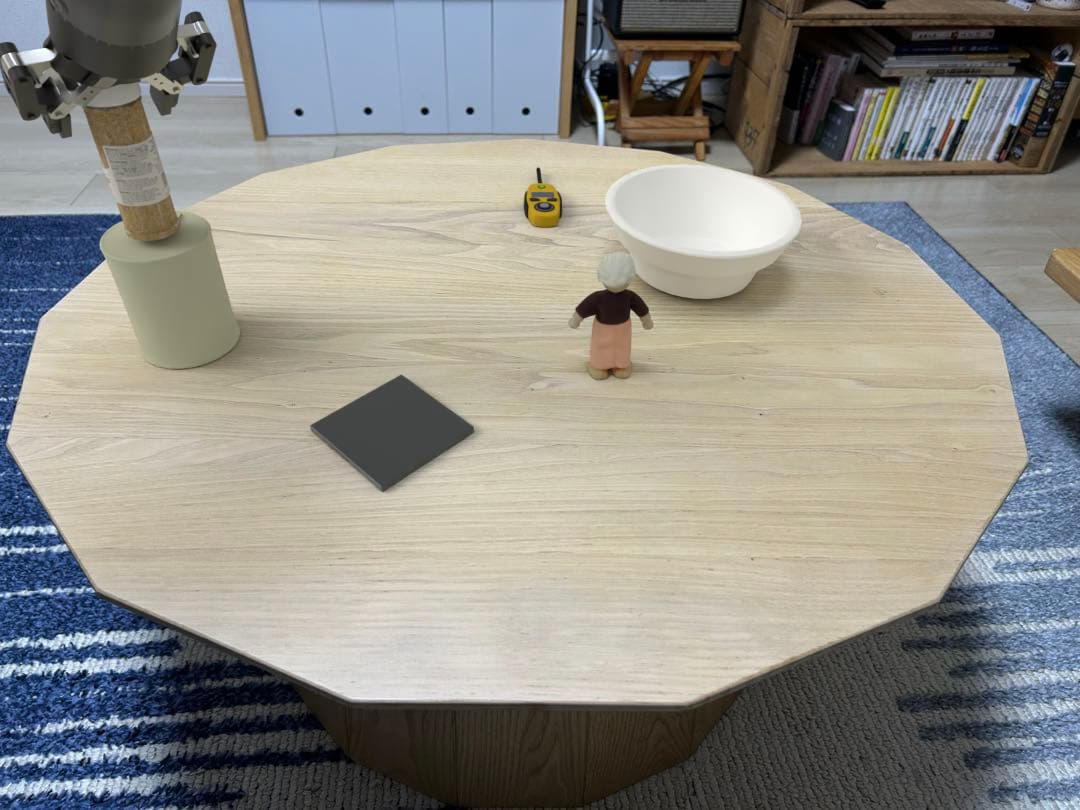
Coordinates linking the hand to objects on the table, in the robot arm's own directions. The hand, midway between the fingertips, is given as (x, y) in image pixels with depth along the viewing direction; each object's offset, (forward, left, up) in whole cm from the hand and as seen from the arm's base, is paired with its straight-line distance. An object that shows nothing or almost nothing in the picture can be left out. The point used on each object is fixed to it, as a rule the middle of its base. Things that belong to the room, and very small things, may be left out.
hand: (111, 115), depth 62 cm
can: (0, -2, -22) cm, 22 cm away
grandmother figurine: (+33, -25, -22) cm, 47 cm away
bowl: (+52, -15, -22) cm, 59 cm away
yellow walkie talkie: (+46, +8, -22) cm, 52 cm away
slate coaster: (+12, -23, -22) cm, 34 cm away
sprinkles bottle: (0, -2, -10) cm, 10 cm away
